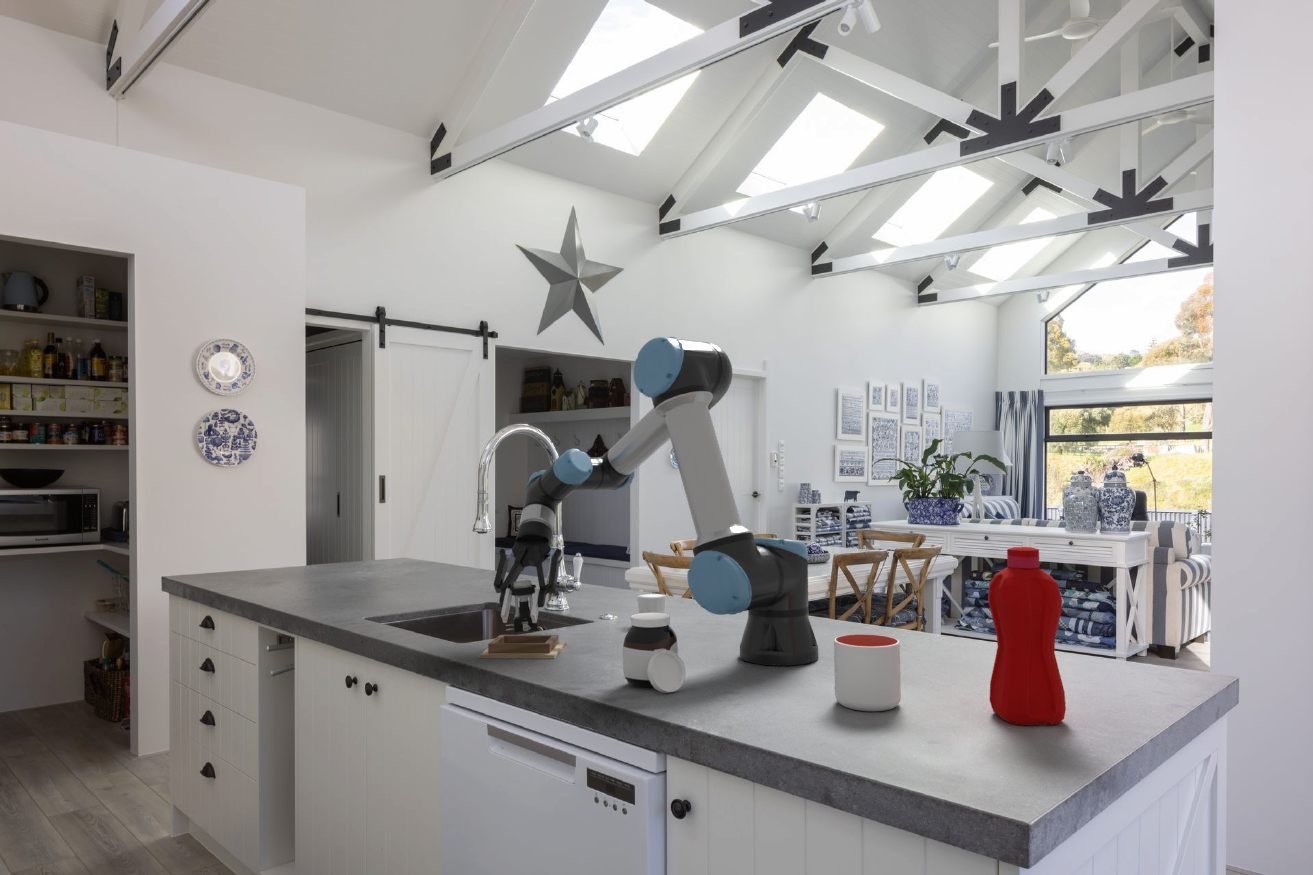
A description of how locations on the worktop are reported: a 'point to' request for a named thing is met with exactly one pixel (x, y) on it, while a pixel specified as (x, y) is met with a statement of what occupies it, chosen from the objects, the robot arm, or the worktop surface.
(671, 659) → the spread jar
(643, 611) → the white cylinder
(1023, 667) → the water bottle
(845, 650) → the cup
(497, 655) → the socket plate
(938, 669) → the worktop surface
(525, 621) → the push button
